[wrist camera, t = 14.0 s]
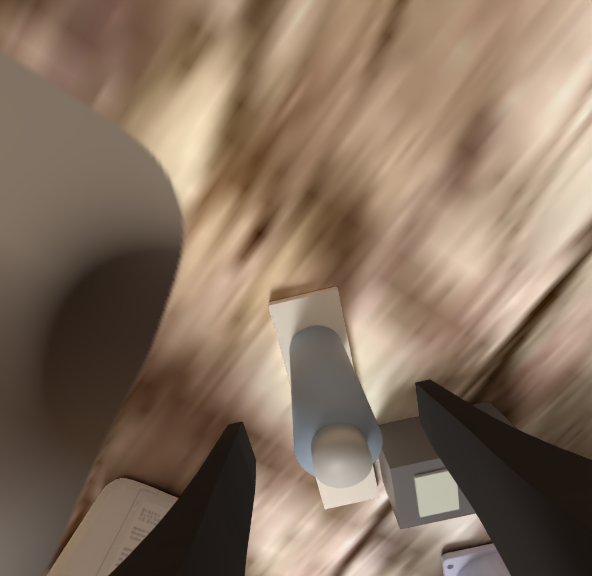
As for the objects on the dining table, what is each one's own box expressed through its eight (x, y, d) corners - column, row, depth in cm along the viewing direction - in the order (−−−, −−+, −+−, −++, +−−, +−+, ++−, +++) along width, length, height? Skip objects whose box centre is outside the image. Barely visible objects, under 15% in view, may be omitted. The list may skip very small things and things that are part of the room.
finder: (488, 454, 21) (529, 504, 18) (381, 477, 21) (401, 531, 18) (486, 398, 20) (530, 441, 16) (371, 423, 20) (391, 471, 16)
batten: (376, 489, 21) (379, 497, 21) (323, 501, 21) (324, 509, 21) (335, 286, 17) (338, 289, 16) (268, 302, 17) (268, 305, 16)
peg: (347, 367, 17) (396, 489, 10) (296, 379, 17) (306, 509, 10) (337, 319, 17) (383, 415, 9) (283, 332, 17) (284, 438, 9)
